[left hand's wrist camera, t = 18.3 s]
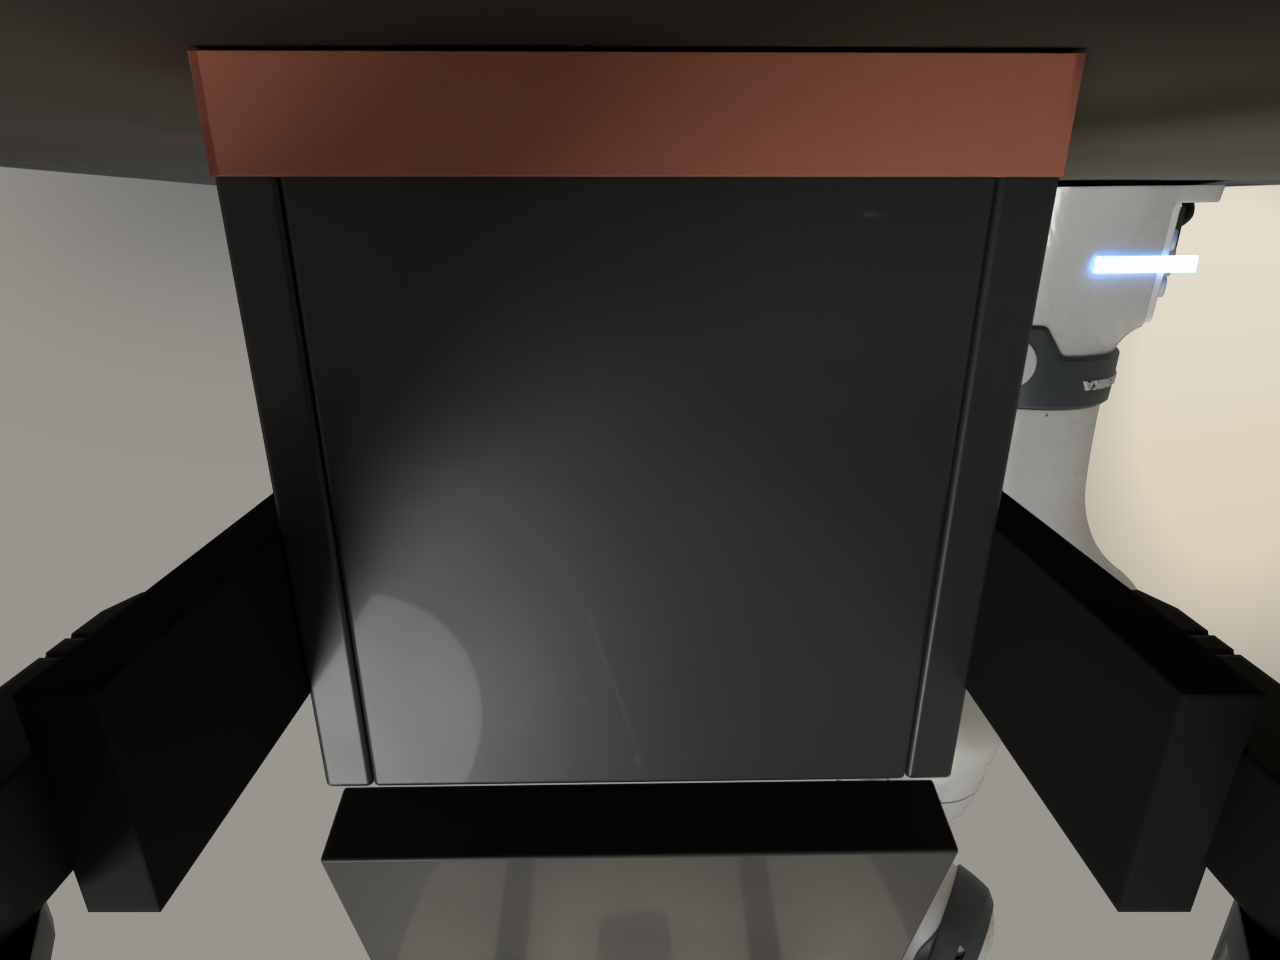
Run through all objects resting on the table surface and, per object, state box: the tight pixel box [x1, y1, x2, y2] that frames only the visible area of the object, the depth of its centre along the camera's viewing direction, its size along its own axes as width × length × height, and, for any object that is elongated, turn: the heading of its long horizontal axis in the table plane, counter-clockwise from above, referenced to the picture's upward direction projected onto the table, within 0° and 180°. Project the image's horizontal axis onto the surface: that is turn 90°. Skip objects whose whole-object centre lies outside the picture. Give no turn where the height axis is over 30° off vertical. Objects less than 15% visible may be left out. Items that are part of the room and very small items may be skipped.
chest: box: [187, 50, 1086, 786], centre depth 15 cm, size 11×10×10 cm
